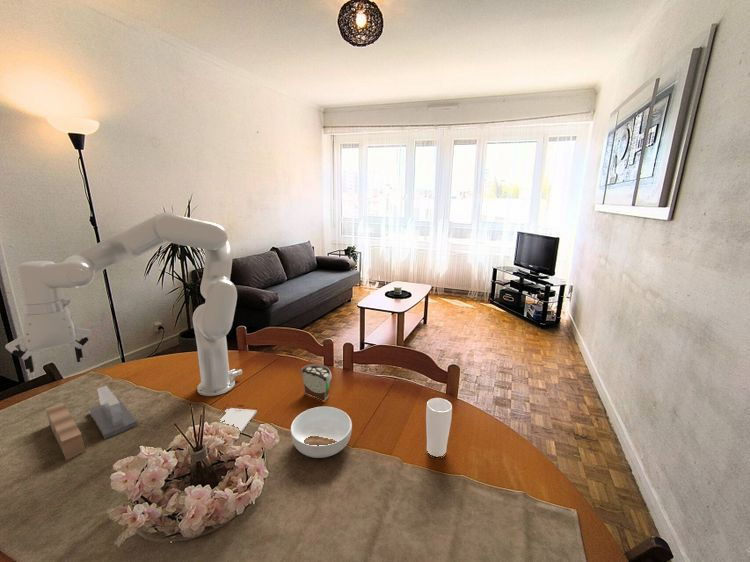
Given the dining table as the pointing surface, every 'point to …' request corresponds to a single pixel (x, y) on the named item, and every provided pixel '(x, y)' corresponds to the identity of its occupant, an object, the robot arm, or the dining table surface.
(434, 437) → the drinking glass
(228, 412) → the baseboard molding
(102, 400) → the balance stand
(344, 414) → the cereal bowl
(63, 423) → the walnut bar
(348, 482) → the dining table surface
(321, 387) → the food container
